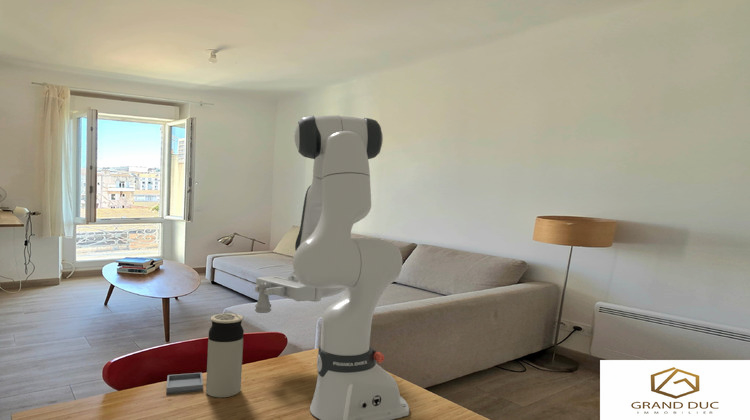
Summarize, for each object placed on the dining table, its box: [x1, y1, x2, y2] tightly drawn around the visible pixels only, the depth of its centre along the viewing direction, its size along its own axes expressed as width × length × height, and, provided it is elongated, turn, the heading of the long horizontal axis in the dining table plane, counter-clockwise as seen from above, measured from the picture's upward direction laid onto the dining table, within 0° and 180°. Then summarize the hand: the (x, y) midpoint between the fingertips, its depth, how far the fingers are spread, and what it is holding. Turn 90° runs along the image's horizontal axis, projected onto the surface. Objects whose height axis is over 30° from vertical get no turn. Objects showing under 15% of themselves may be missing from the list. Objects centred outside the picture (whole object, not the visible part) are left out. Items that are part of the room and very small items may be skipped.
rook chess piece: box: [254, 281, 273, 314], centre depth 130 cm, size 4×4×8 cm
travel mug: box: [205, 312, 245, 399], centre depth 115 cm, size 8×8×18 cm
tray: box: [166, 372, 204, 395], centre depth 117 cm, size 8×8×2 cm
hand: (261, 290), depth 129 cm, fingers closed on rook chess piece, 3 cm apart
